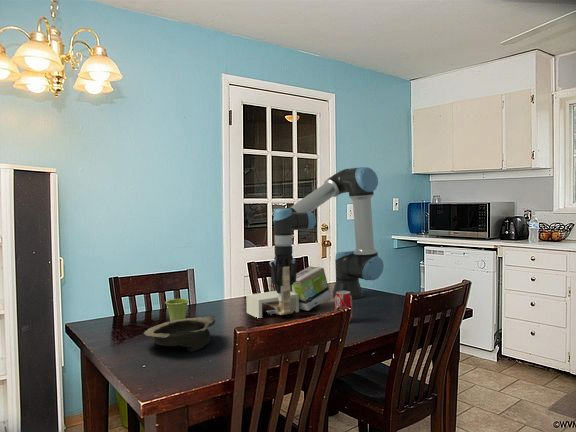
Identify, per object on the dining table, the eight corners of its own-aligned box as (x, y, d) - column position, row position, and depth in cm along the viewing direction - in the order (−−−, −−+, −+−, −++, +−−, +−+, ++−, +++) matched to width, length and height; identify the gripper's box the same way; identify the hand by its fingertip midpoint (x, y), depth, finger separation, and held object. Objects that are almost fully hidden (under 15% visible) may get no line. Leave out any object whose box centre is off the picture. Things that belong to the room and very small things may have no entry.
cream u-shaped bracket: (285, 306, 207) (284, 289, 207) (299, 311, 197) (298, 294, 197) (246, 312, 197) (246, 295, 197) (259, 318, 187) (258, 300, 186)
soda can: (351, 323, 177) (351, 294, 176) (334, 323, 178) (333, 293, 178) (352, 319, 184) (352, 290, 183) (335, 318, 185) (335, 290, 185)
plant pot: (161, 323, 182) (160, 303, 182) (174, 317, 191) (174, 298, 191) (180, 325, 179) (180, 304, 179) (193, 319, 188) (192, 299, 188)
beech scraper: (293, 312, 188) (292, 266, 187) (280, 315, 185) (280, 267, 184) (274, 305, 202) (273, 261, 201) (262, 307, 199) (261, 262, 198)
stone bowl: (223, 351, 147) (220, 324, 147) (144, 366, 140) (141, 338, 140) (213, 329, 171) (211, 306, 170) (146, 341, 164) (143, 317, 163)
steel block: (277, 311, 200) (277, 309, 200) (282, 314, 195) (281, 312, 195) (266, 313, 198) (265, 310, 198) (270, 316, 193) (270, 313, 193)
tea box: (309, 311, 195) (300, 280, 192) (294, 308, 202) (285, 278, 200) (331, 296, 204) (323, 266, 201) (316, 293, 212) (308, 265, 209)
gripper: (294, 243, 194) (295, 296, 195) (262, 245, 186) (263, 301, 187) (304, 244, 188) (305, 299, 189) (271, 247, 179) (272, 304, 180)
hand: (284, 300), depth 188 cm, fingers closed on beech scraper, 3 cm apart
